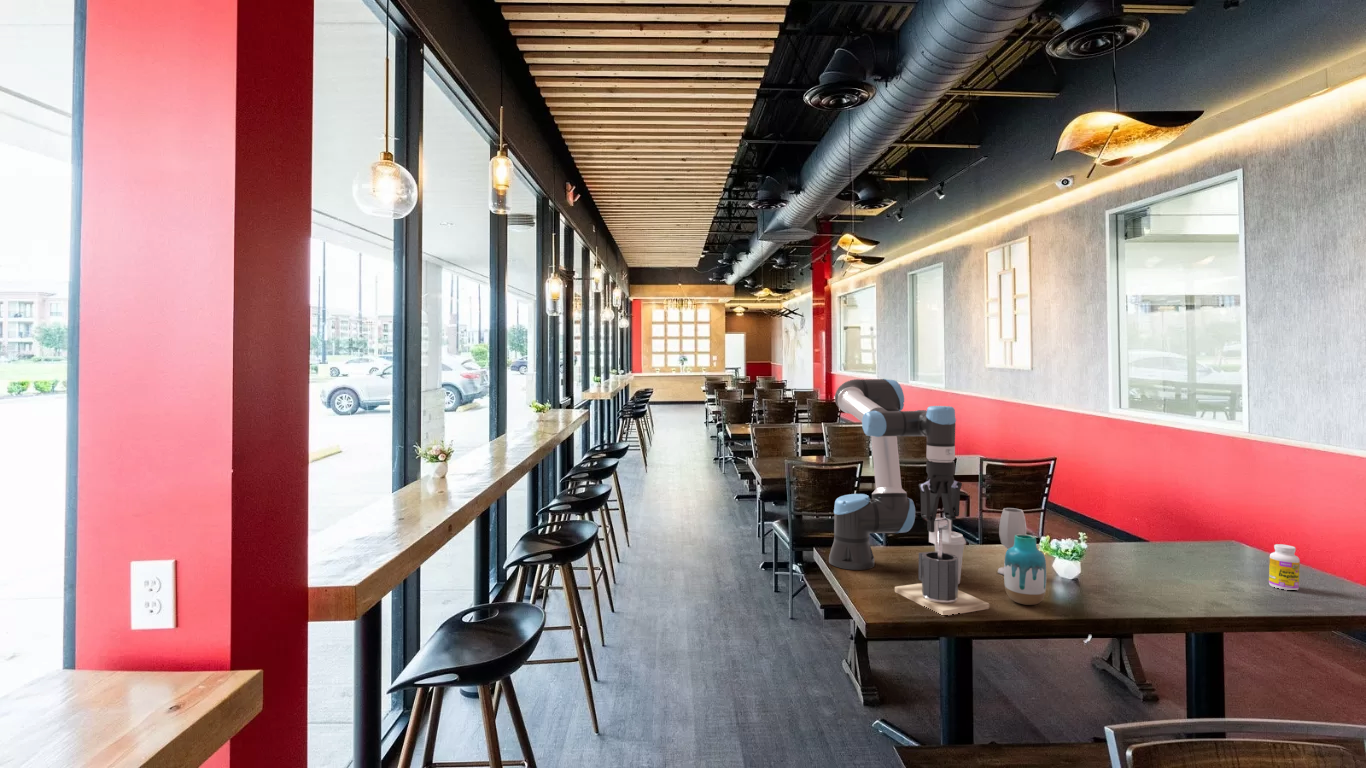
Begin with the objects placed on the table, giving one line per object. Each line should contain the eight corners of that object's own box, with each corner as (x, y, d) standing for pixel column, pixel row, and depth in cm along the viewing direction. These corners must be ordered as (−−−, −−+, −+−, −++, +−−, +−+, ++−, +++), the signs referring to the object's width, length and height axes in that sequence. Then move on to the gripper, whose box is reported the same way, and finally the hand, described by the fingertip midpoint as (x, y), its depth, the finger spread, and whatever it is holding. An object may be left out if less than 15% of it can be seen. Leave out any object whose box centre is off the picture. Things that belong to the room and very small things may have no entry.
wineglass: (1021, 580, 199) (1021, 514, 199) (992, 573, 206) (993, 509, 205) (1031, 574, 205) (1032, 510, 204) (1003, 567, 211) (1004, 505, 211)
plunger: (923, 589, 181) (924, 517, 181) (940, 587, 183) (941, 516, 183) (938, 596, 175) (939, 522, 175) (955, 593, 177) (956, 520, 177)
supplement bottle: (1275, 590, 190) (1276, 547, 189) (1264, 583, 196) (1265, 542, 196) (1304, 592, 187) (1305, 550, 187) (1291, 585, 194) (1292, 544, 193)
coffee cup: (968, 587, 192) (969, 538, 192) (935, 585, 194) (935, 537, 194) (961, 577, 202) (961, 531, 201) (929, 575, 203) (930, 529, 203)
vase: (1028, 612, 172) (1029, 543, 172) (995, 599, 182) (996, 533, 182) (1054, 606, 177) (1055, 538, 176) (1021, 594, 186) (1021, 530, 186)
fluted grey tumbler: (908, 591, 185) (908, 550, 185) (933, 587, 188) (934, 547, 188) (938, 605, 173) (938, 562, 173) (964, 601, 176) (964, 559, 176)
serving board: (894, 591, 189) (894, 586, 189) (937, 585, 194) (937, 580, 194) (942, 616, 170) (942, 610, 170) (989, 608, 175) (989, 603, 175)
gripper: (925, 463, 172) (924, 548, 173) (974, 460, 178) (973, 542, 178) (907, 460, 179) (906, 541, 180) (954, 457, 185) (954, 536, 185)
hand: (940, 542), depth 179 cm, fingers closed on plunger, 4 cm apart
